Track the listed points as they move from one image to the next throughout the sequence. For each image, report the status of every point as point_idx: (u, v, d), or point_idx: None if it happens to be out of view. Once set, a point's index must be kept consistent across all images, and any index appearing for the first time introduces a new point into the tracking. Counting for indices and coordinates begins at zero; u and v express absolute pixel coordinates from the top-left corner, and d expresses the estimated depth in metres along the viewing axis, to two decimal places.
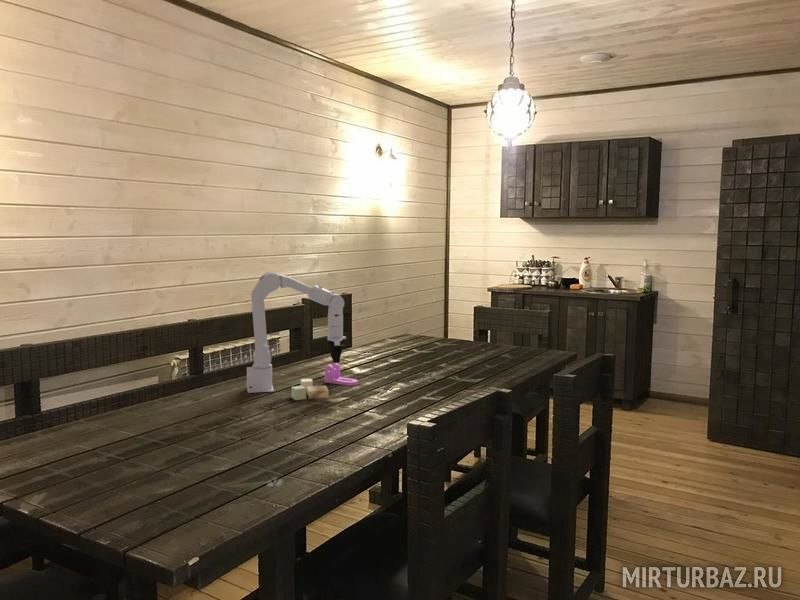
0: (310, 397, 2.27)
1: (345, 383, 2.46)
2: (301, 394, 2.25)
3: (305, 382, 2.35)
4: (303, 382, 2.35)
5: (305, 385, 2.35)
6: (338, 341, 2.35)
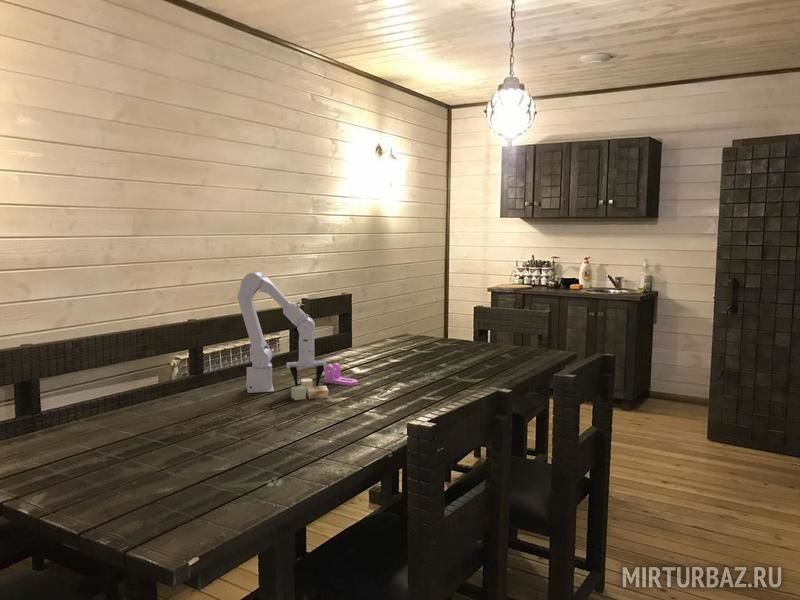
0: (310, 397, 2.27)
1: (345, 383, 2.46)
2: (301, 394, 2.25)
3: (305, 382, 2.35)
4: (303, 382, 2.35)
5: (305, 385, 2.35)
6: (287, 364, 2.34)
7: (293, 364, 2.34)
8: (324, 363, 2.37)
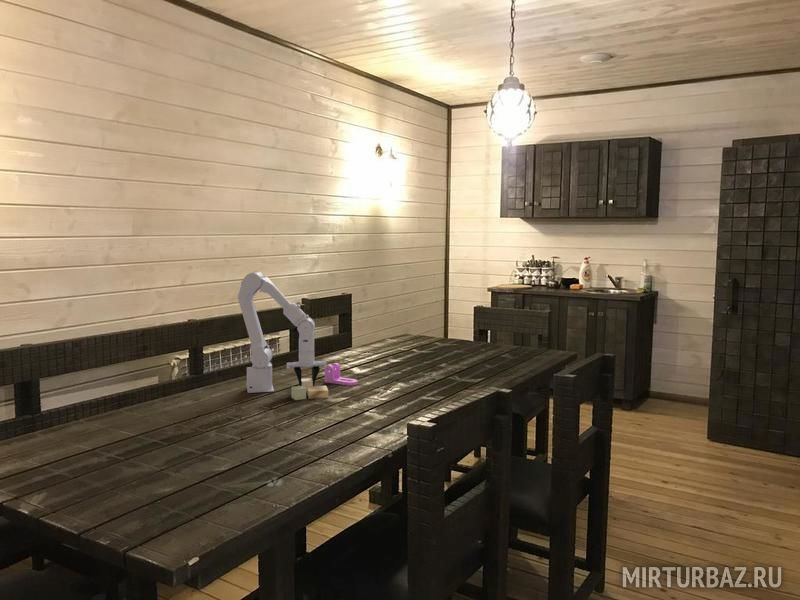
0: (310, 397, 2.27)
1: (345, 383, 2.46)
2: (301, 394, 2.25)
3: (305, 382, 2.35)
4: (303, 382, 2.35)
5: (305, 385, 2.35)
6: (287, 364, 2.34)
7: (293, 364, 2.34)
8: (324, 363, 2.37)
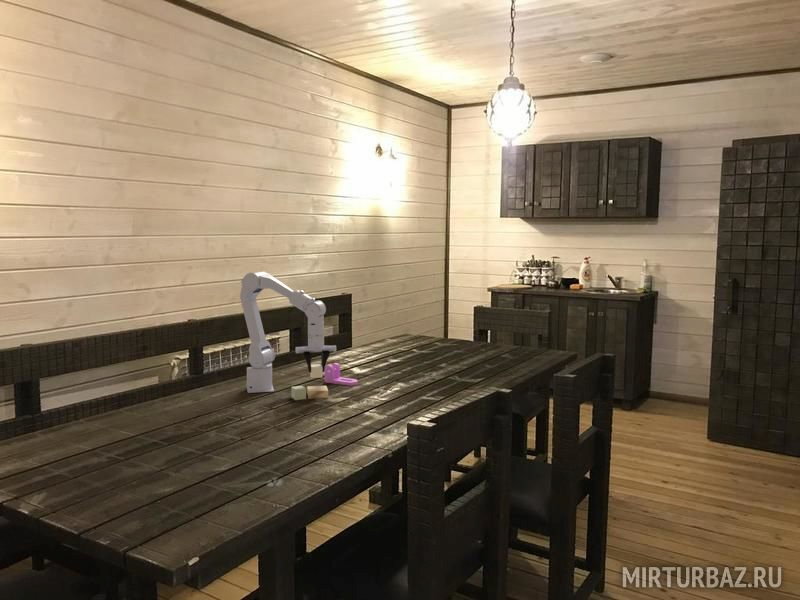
0: (310, 397, 2.27)
1: (345, 383, 2.46)
2: (301, 394, 2.25)
3: (315, 367, 2.29)
4: (312, 367, 2.29)
5: (315, 370, 2.29)
6: None
7: (302, 349, 2.27)
8: (334, 348, 2.31)
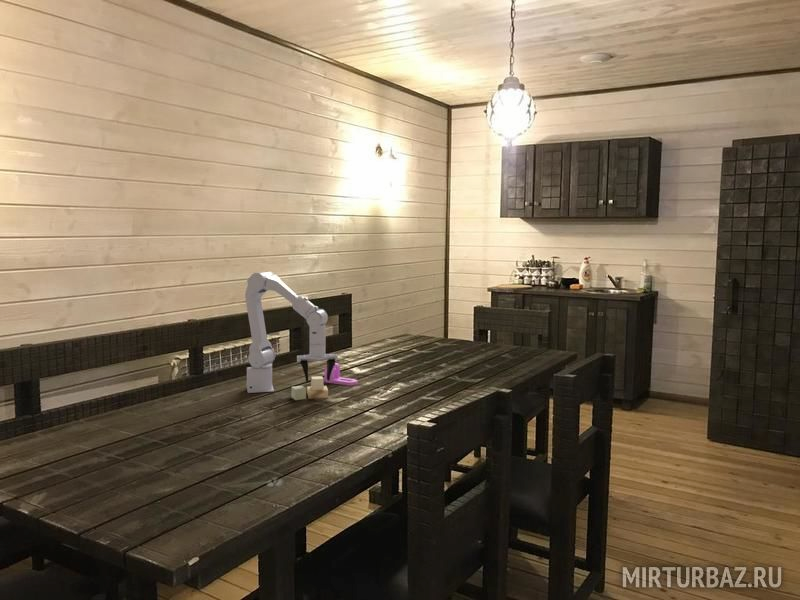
0: (309, 397, 2.27)
1: (345, 383, 2.46)
2: (301, 394, 2.25)
3: (316, 380, 2.28)
4: (314, 380, 2.28)
5: (316, 383, 2.28)
6: (297, 357, 2.27)
7: (304, 357, 2.26)
8: (335, 356, 2.30)
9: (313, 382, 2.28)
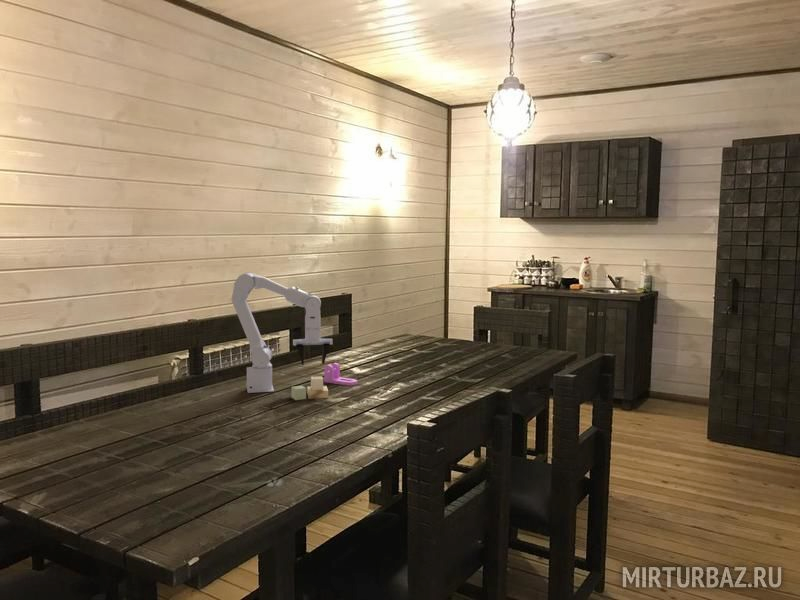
0: (310, 397, 2.27)
1: (345, 383, 2.46)
2: (301, 394, 2.25)
3: (315, 380, 2.28)
4: (313, 380, 2.28)
5: (315, 383, 2.28)
6: (293, 341, 2.35)
7: (299, 341, 2.34)
8: (330, 341, 2.37)
9: (313, 382, 2.28)
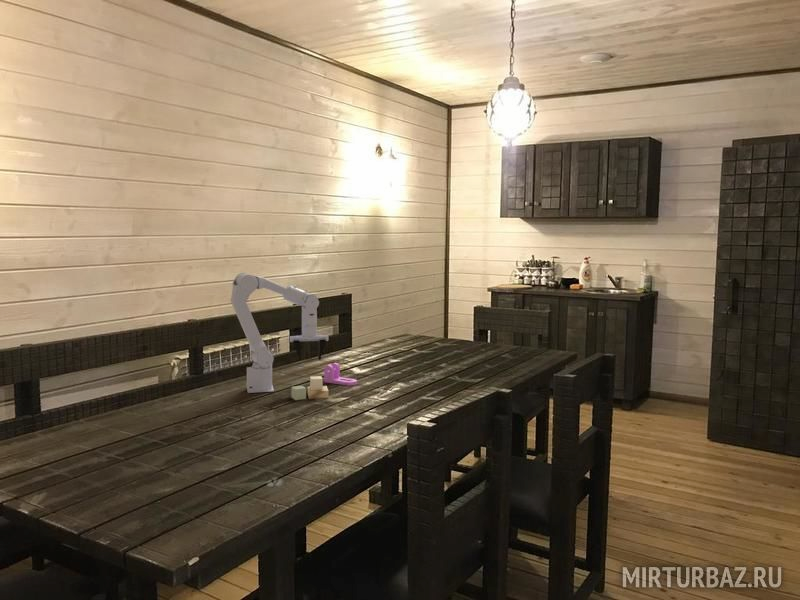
0: (310, 397, 2.27)
1: (345, 383, 2.46)
2: (301, 394, 2.25)
3: (315, 379, 2.28)
4: (313, 379, 2.28)
5: (315, 383, 2.28)
6: (290, 337, 2.41)
7: (296, 338, 2.41)
8: (326, 337, 2.44)
9: (312, 382, 2.28)
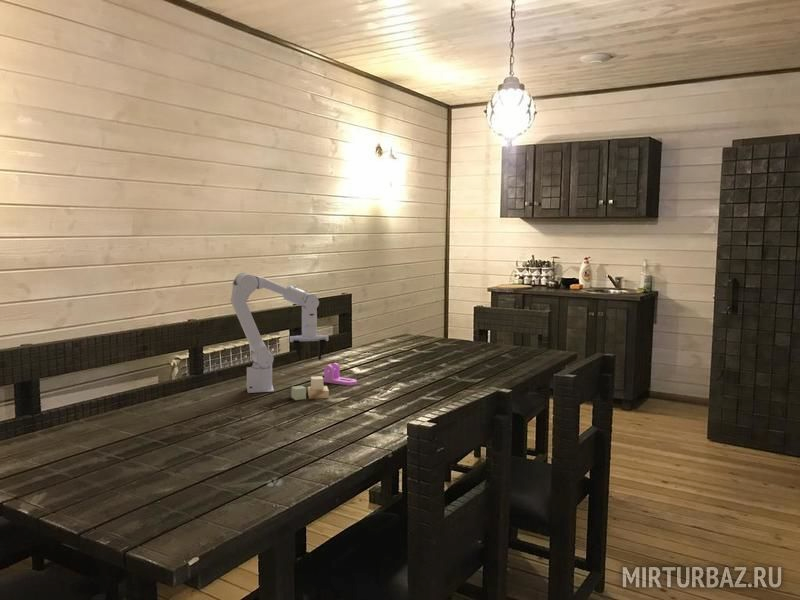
0: (310, 397, 2.27)
1: (344, 383, 2.46)
2: (301, 394, 2.25)
3: (316, 380, 2.28)
4: (314, 380, 2.28)
5: (316, 383, 2.28)
6: (290, 337, 2.41)
7: (296, 338, 2.41)
8: (326, 337, 2.44)
9: (313, 382, 2.28)
